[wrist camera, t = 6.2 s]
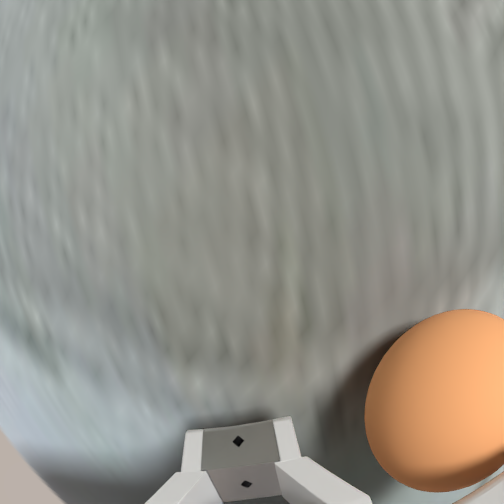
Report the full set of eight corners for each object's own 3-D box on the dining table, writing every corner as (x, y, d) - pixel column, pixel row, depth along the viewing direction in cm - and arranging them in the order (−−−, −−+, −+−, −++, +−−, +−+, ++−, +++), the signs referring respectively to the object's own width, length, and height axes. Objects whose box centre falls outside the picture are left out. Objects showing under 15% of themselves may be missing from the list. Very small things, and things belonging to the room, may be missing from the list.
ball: (336, 504, 7) (389, 398, 11) (498, 523, 4) (509, 403, 8) (324, 385, 6) (387, 279, 10) (583, 393, 2) (538, 276, 7)
